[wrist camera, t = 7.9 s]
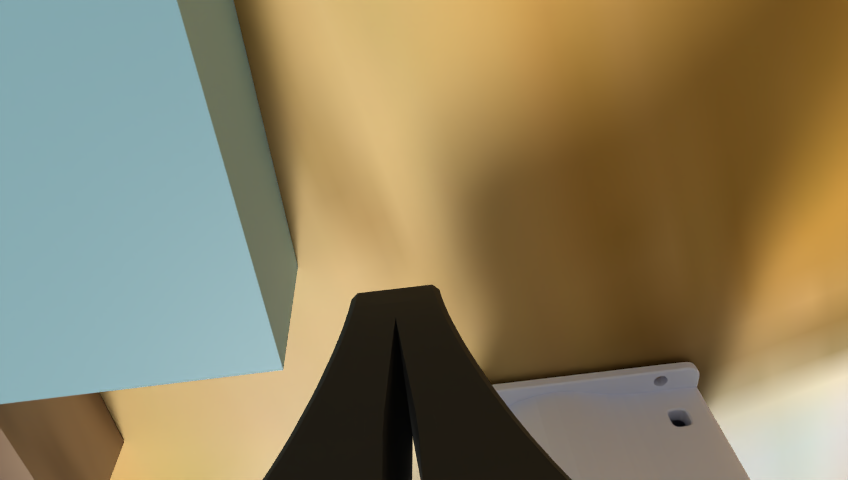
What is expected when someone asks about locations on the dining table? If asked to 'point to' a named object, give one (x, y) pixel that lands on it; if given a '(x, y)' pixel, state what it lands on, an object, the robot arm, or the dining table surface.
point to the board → (58, 439)
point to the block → (135, 200)
